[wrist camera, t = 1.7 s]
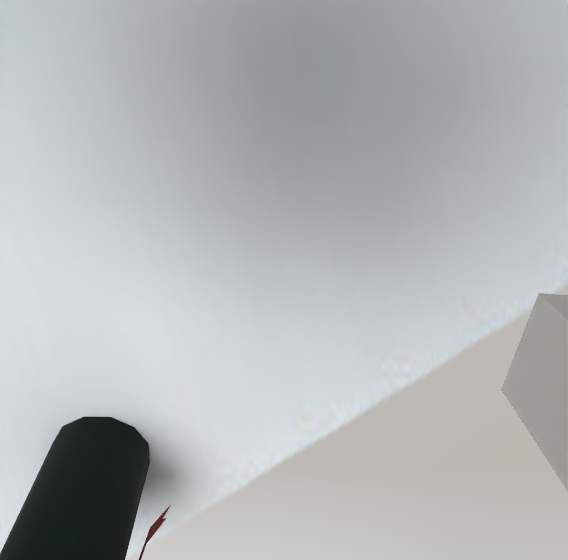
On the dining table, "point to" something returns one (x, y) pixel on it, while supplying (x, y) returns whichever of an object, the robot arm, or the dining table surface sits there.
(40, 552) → the wine bottle
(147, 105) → the dining table surface
